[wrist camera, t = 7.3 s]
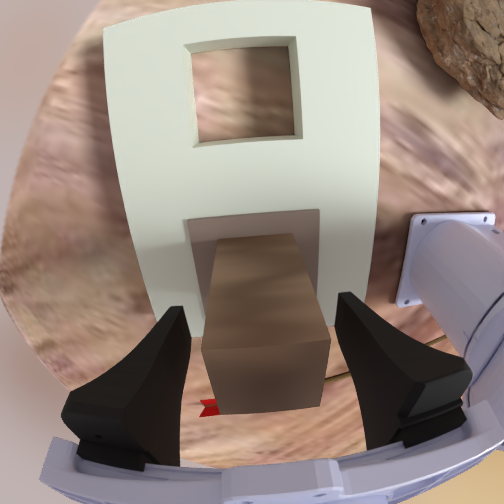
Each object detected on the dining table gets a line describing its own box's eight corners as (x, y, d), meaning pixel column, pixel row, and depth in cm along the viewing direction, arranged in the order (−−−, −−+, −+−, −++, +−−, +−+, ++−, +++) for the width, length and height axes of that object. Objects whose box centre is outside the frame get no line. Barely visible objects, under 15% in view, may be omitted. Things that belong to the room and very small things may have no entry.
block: (292, 232, 16) (331, 338, 8) (292, 294, 17) (319, 406, 10) (217, 239, 16) (200, 349, 8) (226, 299, 17) (220, 414, 10)
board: (354, 18, 12) (372, 6, 10) (350, 300, 21) (362, 324, 19) (120, 37, 12) (100, 27, 10) (169, 315, 21) (161, 340, 19)
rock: (362, -29, 10) (394, -58, 6) (454, -41, 8) (489, -55, 3) (452, 136, 16) (499, 150, 11) (520, 95, 13) (561, 103, 9)
